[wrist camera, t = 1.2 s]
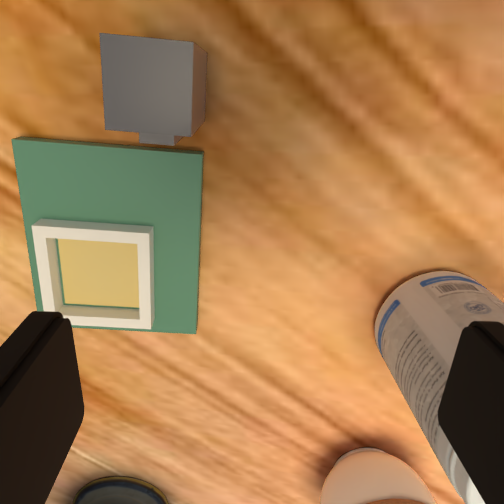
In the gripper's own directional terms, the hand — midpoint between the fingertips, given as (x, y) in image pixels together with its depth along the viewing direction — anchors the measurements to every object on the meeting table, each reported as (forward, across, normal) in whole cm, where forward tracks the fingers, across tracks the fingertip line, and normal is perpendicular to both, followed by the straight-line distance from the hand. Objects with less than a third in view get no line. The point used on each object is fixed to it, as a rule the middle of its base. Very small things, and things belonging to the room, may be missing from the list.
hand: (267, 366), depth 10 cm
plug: (+20, +5, -6) cm, 21 cm away
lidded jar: (+20, -13, +29) cm, 37 cm away
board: (+20, +9, +5) cm, 23 cm away
